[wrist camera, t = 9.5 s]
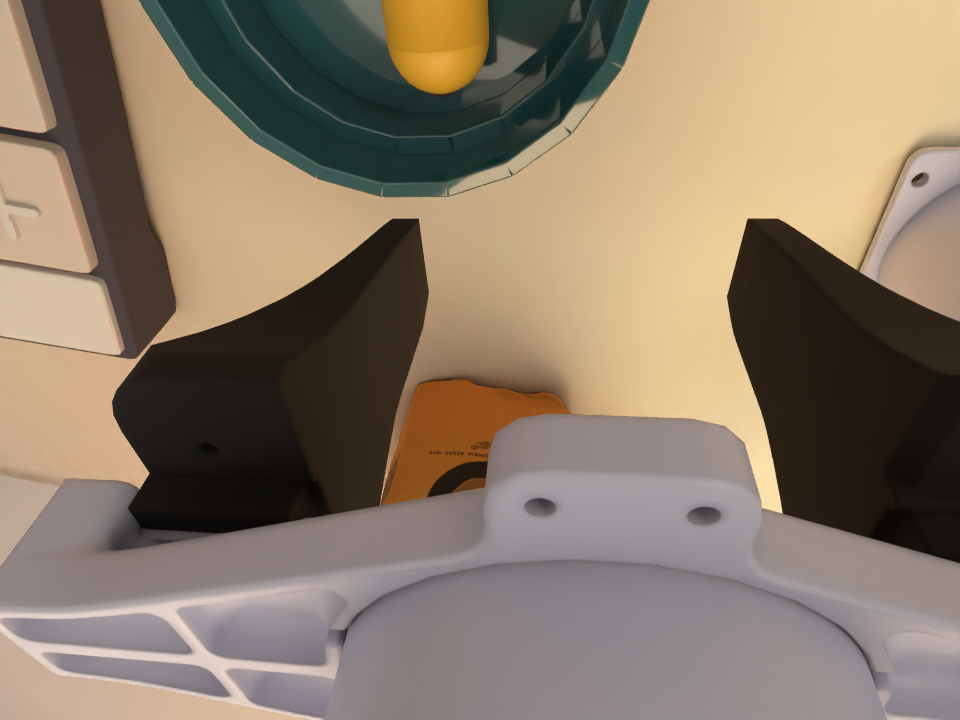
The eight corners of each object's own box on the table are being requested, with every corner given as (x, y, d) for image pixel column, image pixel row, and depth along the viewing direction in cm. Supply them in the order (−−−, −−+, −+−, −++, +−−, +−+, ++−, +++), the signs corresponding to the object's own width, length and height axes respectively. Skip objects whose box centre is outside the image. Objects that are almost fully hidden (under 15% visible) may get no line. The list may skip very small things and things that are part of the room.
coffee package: (604, 385, 29) (660, 1112, 13) (558, 527, 37) (557, 1074, 21) (399, 357, 29) (196, 1043, 13) (399, 505, 38) (277, 1033, 21)
